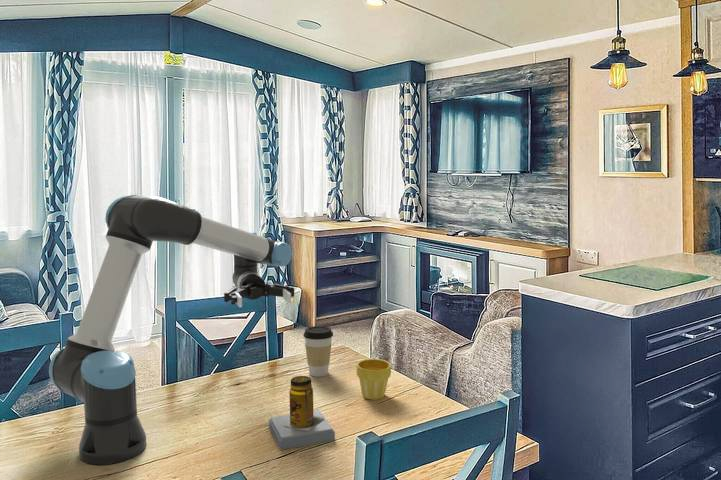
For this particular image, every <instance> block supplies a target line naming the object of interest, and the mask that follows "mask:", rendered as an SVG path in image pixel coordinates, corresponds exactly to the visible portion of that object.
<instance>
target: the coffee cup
mask: <svg viewBox="0 0 721 480" xmlns="http://www.w3.org/2000/svg"><path fill="white" fill-rule="evenodd" d="M304 330H305V331H304V332H303V337H304V341H305V343H304V347H305V354H306V361H307V365H308V373H309V375H310V376H312V377H317V378H318V377H324V376H327V375H328V374H329V367H330V361H331V354H332V353H331V351H332V344H333V343H332V337H333V336H334V333H333V331H332V329H331V327H329V326H325V325H324V326H323V325H313V326H308V327H306V328H305V329H304Z"/></svg>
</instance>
